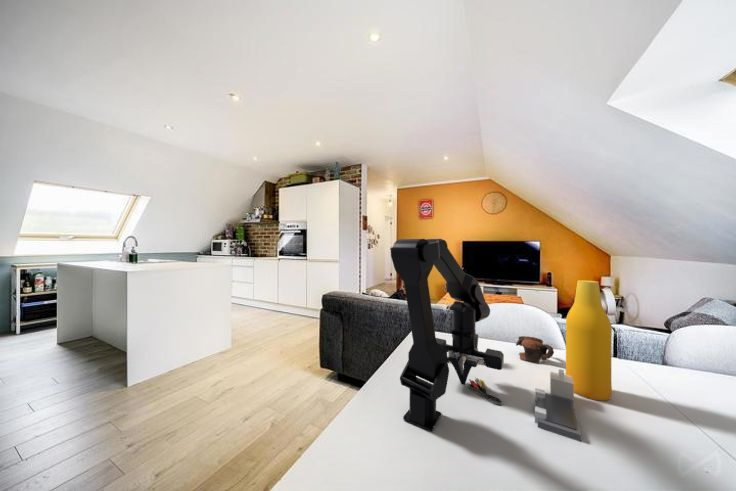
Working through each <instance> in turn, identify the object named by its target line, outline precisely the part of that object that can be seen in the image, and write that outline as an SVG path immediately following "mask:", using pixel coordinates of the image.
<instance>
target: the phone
mask: <svg viewBox="0 0 736 491" xmlns="http://www.w3.org/2000/svg"><path fill="white" fill-rule="evenodd" d="M534 391H535V392H534V402H536V403H537V406H536V405H535V406H534V422H535V423H536V424H537V428H540V429H543V430H545V431H548V432H551V433H554V434H557V435H561V436H564V437H567V438H569V439H572V440H574V441H575V440H576V441H579V442H582V433H581V429H580V426H579V424H580V423H579V421H578V417H577V413H576V409H575V404H573V400H571V399H567V398H563V397H559V396H556V395H552V394H550V393H547V392H546V390H545V389H541V388H538V387H535V388H534Z"/></svg>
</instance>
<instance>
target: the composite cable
mask: <svg viewBox="0 0 736 491" xmlns="http://www.w3.org/2000/svg"><path fill="white" fill-rule="evenodd" d="M468 380H469V381H470V383H469V384H468V387H467V389H469V390H470V391H472V392H474V393H475V394H479V395H481V397H482V396H483V397H484V398H485V399H487V400H488V401H489V402H490V403H491V404H493V405H495V406H497V407H498V406H500V407H501V406H502V400H501V399H500V398H499V397H497V396H495V395H492V394H490V393H488V392H487V386H486V382H485V381H484V380H483V379H482V378H480V379H479V378H477V377H476V376H475V377H474V380H471V379H468Z"/></svg>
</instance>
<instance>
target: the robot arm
mask: <svg viewBox="0 0 736 491" xmlns="http://www.w3.org/2000/svg"><path fill="white" fill-rule="evenodd" d="M390 257H391V261H392V266H393V268H394V271H395V272H396V274H398V276H399V277H400V279H401V280H402V282H403V284H404V289H405V290H404V292H405V297H406V298H405V299H406V303H407V304H406V305H407V311H408V317H409V323H410V328H411V329H410V330H411V336H412V346H411V347H410V349H409V350H408V353H407V355H408V360H407V362H406V364H405V366H404V368H403V370H402V373H401V374H400V377H399V380H400V385H401V386H402V387H406V388H407V389H409V406H408V407H409V409H408V410H407V411H406V412H405V414H404V415H403V418H402V419H403V421H405V422H408V423H410V424H413V425H416V426H417V427H420V428H421V429H424V430H427V431H430V432H433V431H434V429H435V427H436V425H437V423H438V422H439V421H440V419H441V417H442V412H441V411H438V410H437V400H438V399H439V398H442V397H443V396H444V395H446V391H447V386H448V380H449V376H450V368H449V363H451V365H452V366H453V368H454V370H455V372H456V375H457V377H458V379H459V382H460V385H463V386H465V385H466V383H467V380H468V377H469V374H470V372H471V369H472V368H477V366H478V365H479V362H480V360H481V361H483V365H484V366H485V367H487V368H490V369H494V370H497V371H502V370H503V365H504V364H505V363H504V361H505V359H504V358H505V356H504V355H505V354H504V352H502V351H501V350H497V349H491V348H486V350H485V351H480V350H478V351H476V350H475V348H477V347H478V346H479V345H478V344H479V334H477V333H476V323H478V322H481V321H482V320H486V319H487V318H488V317H490V314H491V309H490V306H489V304H488V303H487V302H486V299H485V296H484V293H483V290H482V288H481V285H480V284H479V282H478V280H477V279H476V278H474V276H472V275H470V274H468V273H465V271H464V270H463V269H462V267H461V266H460V264H459V262H457V260H456V258H455V257H454V255H453V254H452V253H451V251H450V249H449V248H448V243H447V241H446V240H445V239H443V238H427V239H426V238H399V239H397V240H396V241H395V242H394V243H393V245H392V246H391V248H390ZM434 267H435V269H436V270H437V272H439V274H440V275H441V277H442V278H443V279H444V281H445V282H446V283H447V285H446V292H447V293H448V295H449V296H450V298H451V299H452V300H454V301H453V303H452V304H451V305H450V306H449V307H448V308H449V311H452V330H451V337H452V344H447V340H446V339H443V338H439V337H436V331H435V325H434V316H433V309H432V302H431V301H432V300H431V294H430V287H429V281H428V279H429V276H430V274H431V272H432V270H433V268H434ZM463 356H466V358H467V359H466V360H465V362H464V361H463Z"/></svg>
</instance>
